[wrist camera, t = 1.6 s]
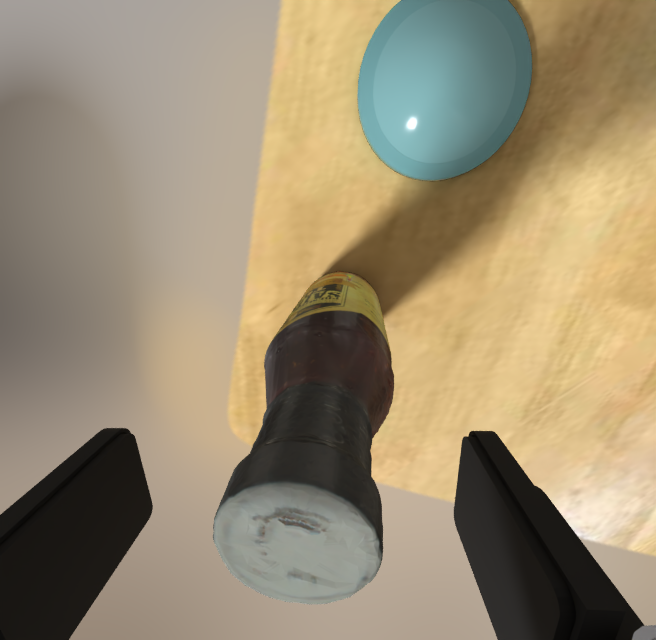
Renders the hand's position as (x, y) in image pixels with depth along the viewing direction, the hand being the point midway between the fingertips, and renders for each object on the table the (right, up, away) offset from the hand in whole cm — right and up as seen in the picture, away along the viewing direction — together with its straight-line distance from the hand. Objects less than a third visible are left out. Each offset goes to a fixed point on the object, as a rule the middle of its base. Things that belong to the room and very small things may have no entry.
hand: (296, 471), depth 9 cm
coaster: (+8, +20, +12) cm, 25 cm away
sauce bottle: (+2, +5, +17) cm, 18 cm away
